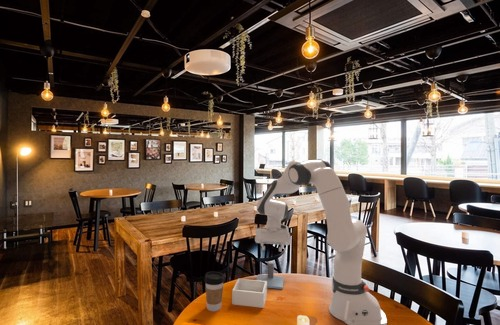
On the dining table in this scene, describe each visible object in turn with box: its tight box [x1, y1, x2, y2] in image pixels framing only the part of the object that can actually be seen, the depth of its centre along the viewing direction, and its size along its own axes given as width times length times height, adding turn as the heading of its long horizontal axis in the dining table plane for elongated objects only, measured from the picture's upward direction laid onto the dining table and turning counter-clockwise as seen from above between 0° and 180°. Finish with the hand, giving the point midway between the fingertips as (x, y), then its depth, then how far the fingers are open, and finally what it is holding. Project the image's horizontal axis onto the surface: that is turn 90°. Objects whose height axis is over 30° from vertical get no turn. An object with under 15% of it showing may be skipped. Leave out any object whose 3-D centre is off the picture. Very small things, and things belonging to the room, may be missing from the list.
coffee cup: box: [204, 271, 225, 312], centre depth 115 cm, size 8×8×15 cm
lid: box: [255, 262, 285, 290], centre depth 139 cm, size 14×12×9 cm
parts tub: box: [231, 277, 268, 309], centre depth 123 cm, size 14×12×7 cm
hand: (271, 250), depth 149 cm, fingers open, 8 cm apart
